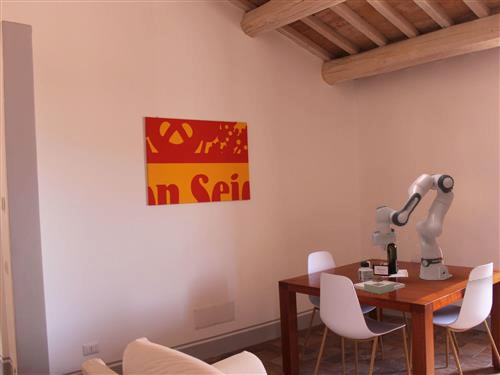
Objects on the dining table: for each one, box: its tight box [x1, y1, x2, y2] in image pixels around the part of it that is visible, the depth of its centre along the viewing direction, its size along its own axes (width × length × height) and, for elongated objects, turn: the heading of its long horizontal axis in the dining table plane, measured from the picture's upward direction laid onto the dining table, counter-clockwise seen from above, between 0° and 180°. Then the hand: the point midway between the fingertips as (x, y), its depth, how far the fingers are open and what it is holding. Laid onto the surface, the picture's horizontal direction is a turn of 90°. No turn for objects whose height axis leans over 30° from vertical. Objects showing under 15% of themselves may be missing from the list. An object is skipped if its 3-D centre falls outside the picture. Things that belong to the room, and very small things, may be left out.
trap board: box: [353, 279, 406, 295], centre depth 294 cm, size 24×24×4 cm
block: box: [372, 275, 384, 282], centre depth 304 cm, size 5×5×3 cm
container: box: [357, 260, 375, 282], centre depth 318 cm, size 8×8×13 cm
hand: (384, 250), depth 308 cm, fingers closed
